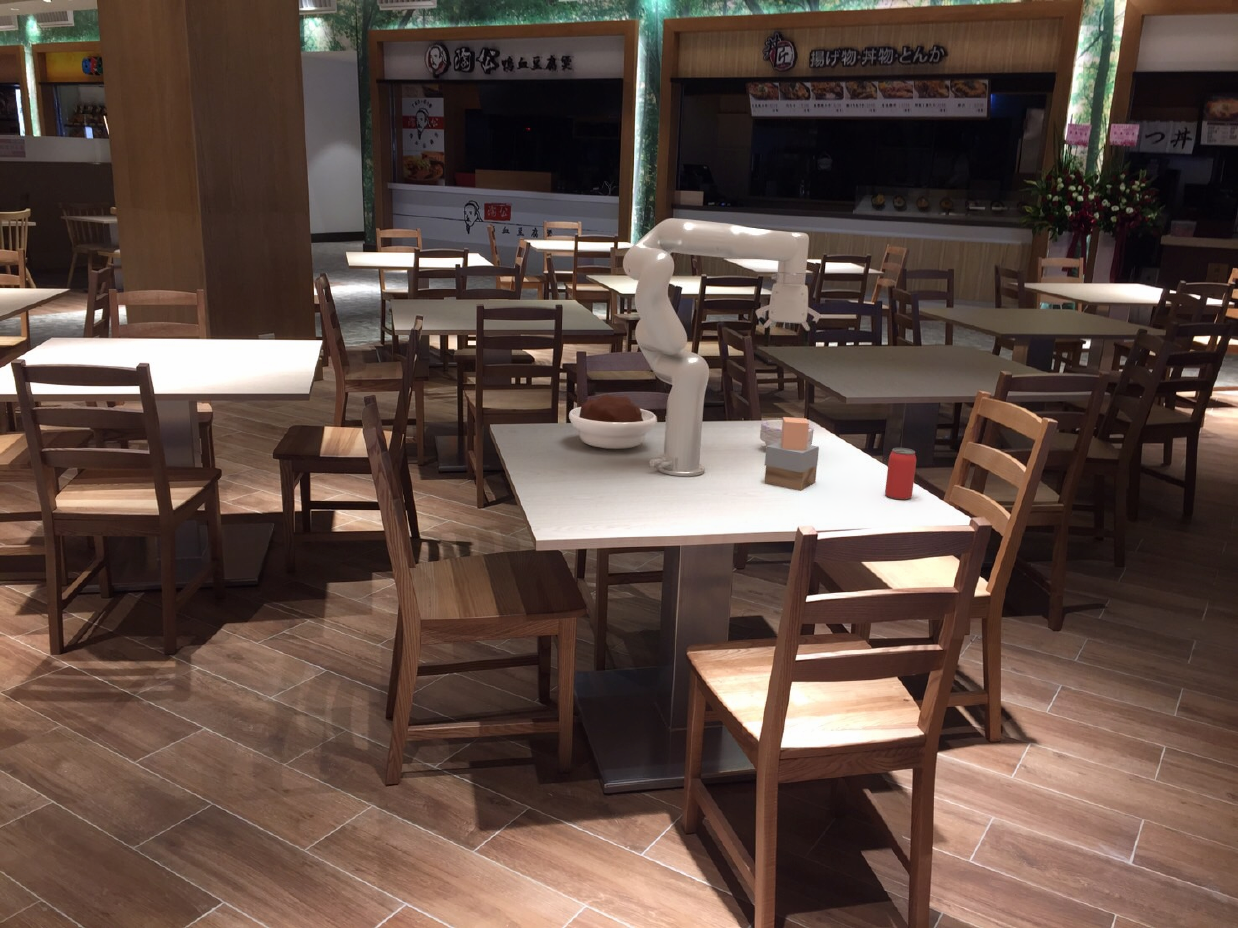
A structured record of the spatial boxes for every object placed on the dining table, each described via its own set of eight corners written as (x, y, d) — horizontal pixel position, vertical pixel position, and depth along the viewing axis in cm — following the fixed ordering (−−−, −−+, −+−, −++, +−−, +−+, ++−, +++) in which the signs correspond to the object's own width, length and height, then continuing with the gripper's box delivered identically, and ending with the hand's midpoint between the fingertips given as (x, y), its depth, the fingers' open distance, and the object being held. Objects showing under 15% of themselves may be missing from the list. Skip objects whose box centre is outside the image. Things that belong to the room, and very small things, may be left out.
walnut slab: (800, 491, 259) (802, 472, 257) (764, 484, 264) (765, 465, 262) (815, 483, 267) (817, 465, 266) (779, 476, 272) (781, 458, 271)
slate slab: (800, 472, 257) (802, 453, 256) (764, 465, 263) (766, 446, 262) (817, 465, 265) (819, 446, 264) (782, 458, 271) (783, 440, 270)
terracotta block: (782, 448, 260) (785, 421, 258) (780, 443, 265) (783, 417, 264) (806, 450, 259) (809, 423, 258) (803, 445, 265) (806, 418, 263)
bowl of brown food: (610, 432, 313) (613, 383, 309) (672, 448, 296) (675, 397, 293) (550, 443, 296) (551, 391, 292) (611, 461, 279) (614, 406, 275)
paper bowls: (822, 454, 298) (825, 427, 296) (783, 459, 290) (786, 432, 288) (786, 443, 310) (788, 417, 308) (748, 447, 302) (750, 421, 300)
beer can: (882, 492, 261) (887, 446, 258) (908, 493, 261) (913, 448, 258) (887, 499, 254) (893, 452, 251) (914, 501, 254) (920, 454, 251)
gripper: (757, 278, 272) (752, 342, 276) (823, 282, 269) (817, 347, 273) (759, 276, 279) (754, 339, 283) (823, 280, 276) (817, 344, 280)
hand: (785, 343), depth 278 cm, fingers open, 9 cm apart
